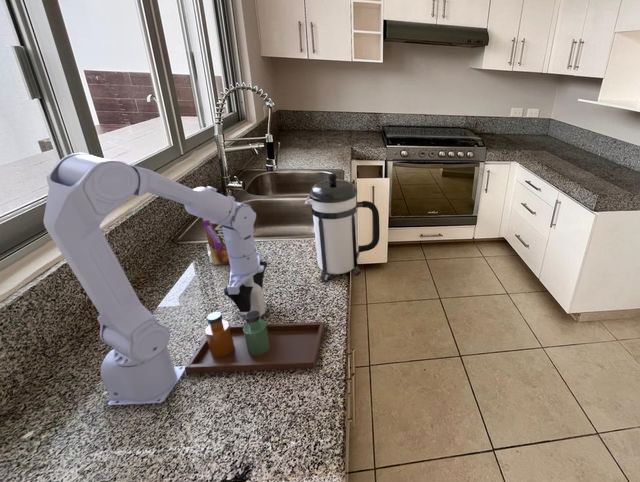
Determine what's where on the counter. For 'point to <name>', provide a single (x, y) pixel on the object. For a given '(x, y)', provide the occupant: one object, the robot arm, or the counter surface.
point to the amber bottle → (218, 335)
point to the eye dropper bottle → (255, 297)
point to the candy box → (216, 242)
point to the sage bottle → (256, 334)
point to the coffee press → (338, 226)
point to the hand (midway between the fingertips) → (251, 300)
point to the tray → (284, 353)
